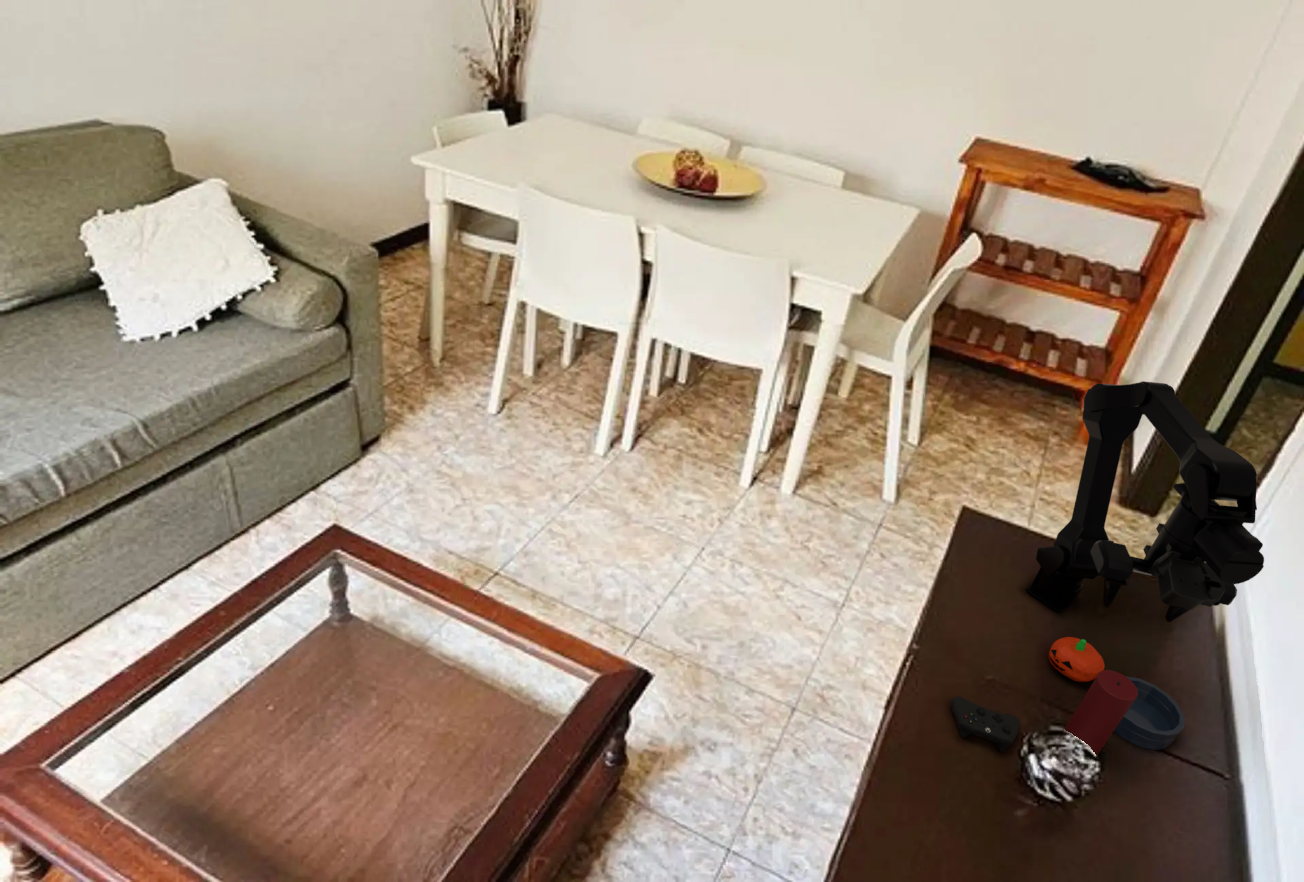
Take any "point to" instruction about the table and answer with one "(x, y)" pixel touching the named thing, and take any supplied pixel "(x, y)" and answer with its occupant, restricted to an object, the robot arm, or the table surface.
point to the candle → (1102, 709)
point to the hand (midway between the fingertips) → (1136, 612)
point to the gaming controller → (985, 722)
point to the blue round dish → (1151, 718)
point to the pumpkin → (1076, 659)
